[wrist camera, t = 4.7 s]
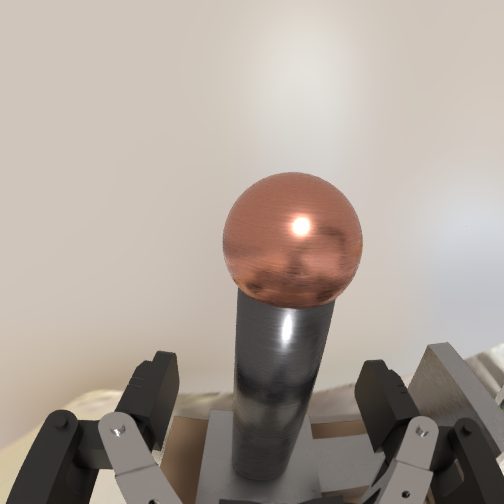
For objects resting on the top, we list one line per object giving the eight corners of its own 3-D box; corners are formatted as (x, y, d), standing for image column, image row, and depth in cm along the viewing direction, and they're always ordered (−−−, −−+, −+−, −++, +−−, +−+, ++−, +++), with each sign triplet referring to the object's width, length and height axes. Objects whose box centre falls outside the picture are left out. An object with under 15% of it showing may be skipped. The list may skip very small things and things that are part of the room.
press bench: (516, 386, 18) (549, 323, 15) (552, 435, 9) (598, 368, 6) (177, 430, 18) (162, 343, 15) (151, 537, 9) (98, 491, 6)
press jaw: (413, 409, 17) (487, 204, 12) (455, 501, 8) (613, 258, 3) (214, 418, 17) (216, 164, 12) (197, 542, 8) (90, 179, 3)
